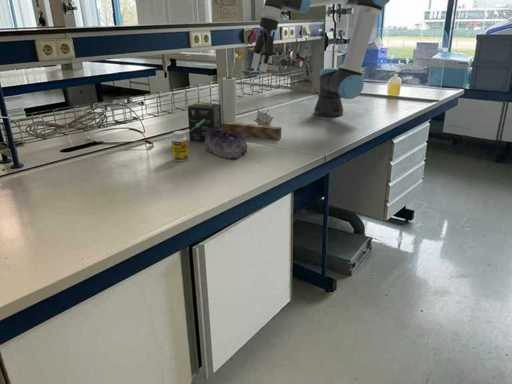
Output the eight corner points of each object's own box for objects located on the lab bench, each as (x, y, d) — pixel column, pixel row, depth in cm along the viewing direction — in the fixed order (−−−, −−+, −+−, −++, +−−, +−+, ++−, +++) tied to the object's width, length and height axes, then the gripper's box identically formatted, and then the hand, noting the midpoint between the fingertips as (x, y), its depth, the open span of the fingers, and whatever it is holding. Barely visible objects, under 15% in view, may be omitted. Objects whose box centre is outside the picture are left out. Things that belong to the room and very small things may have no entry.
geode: (193, 151, 162) (194, 125, 159) (215, 148, 171) (216, 123, 168) (230, 161, 149) (232, 133, 147) (252, 157, 158) (254, 131, 155)
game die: (266, 136, 194) (271, 122, 186) (250, 128, 194) (254, 115, 186) (273, 123, 199) (277, 109, 190) (256, 116, 199) (261, 102, 190)
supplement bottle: (173, 162, 150) (171, 134, 145) (172, 157, 155) (170, 130, 150) (189, 161, 151) (187, 133, 147) (188, 156, 156) (186, 129, 152)
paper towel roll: (239, 123, 200) (238, 77, 192) (229, 126, 196) (228, 79, 188) (228, 121, 205) (227, 76, 196) (219, 123, 201) (217, 77, 192)
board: (281, 138, 177) (281, 127, 175) (278, 140, 175) (279, 129, 173) (225, 132, 186) (224, 121, 184) (222, 134, 183) (221, 123, 181)
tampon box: (222, 138, 178) (221, 103, 172) (213, 144, 170) (212, 108, 164) (199, 135, 182) (197, 101, 176) (189, 141, 174) (187, 106, 168)
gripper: (253, 16, 186) (243, 65, 192) (270, 15, 163) (258, 70, 170) (269, 21, 188) (258, 69, 195) (288, 20, 166) (275, 74, 172)
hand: (258, 70), depth 182 cm, fingers open, 13 cm apart
